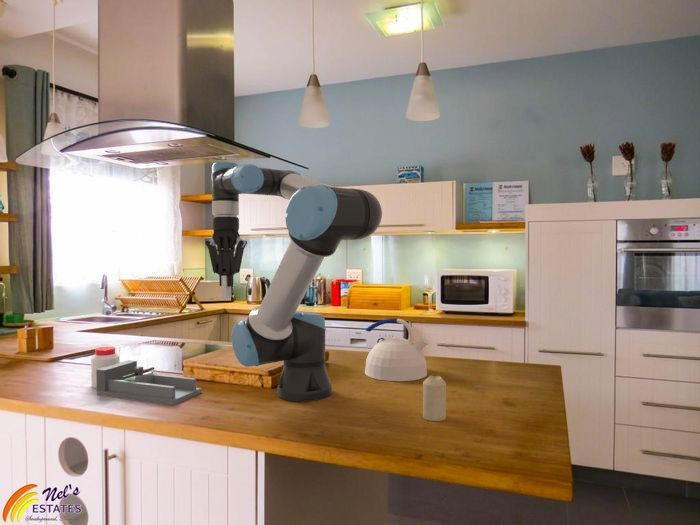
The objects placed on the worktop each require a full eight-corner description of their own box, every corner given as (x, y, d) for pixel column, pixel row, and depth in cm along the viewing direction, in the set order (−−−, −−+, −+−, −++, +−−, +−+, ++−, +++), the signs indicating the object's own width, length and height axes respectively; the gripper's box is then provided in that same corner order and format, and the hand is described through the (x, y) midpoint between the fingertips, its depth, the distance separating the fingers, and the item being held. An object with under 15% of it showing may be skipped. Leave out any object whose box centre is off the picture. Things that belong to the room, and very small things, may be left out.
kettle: (421, 384, 154) (422, 324, 153) (356, 378, 160) (356, 321, 160) (433, 368, 173) (433, 315, 172) (374, 364, 180) (374, 312, 179)
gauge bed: (201, 392, 145) (201, 367, 145) (172, 405, 134) (172, 377, 134) (129, 383, 154) (128, 360, 154) (96, 394, 143) (96, 369, 143)
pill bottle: (108, 389, 149) (108, 351, 149) (85, 387, 151) (84, 350, 150) (125, 382, 157) (125, 346, 156) (103, 380, 158) (102, 345, 158)
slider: (159, 383, 150) (158, 363, 150) (129, 394, 139) (128, 373, 139) (148, 382, 152) (147, 362, 151) (117, 392, 141) (117, 371, 141)
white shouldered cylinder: (430, 422, 120) (431, 380, 120) (418, 415, 125) (418, 375, 125) (450, 419, 123) (450, 378, 122) (437, 412, 128) (437, 372, 127)
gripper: (252, 216, 150) (252, 297, 151) (214, 217, 154) (215, 295, 155) (237, 215, 143) (238, 299, 144) (198, 216, 147) (199, 298, 148)
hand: (226, 297), depth 149 cm, fingers closed
